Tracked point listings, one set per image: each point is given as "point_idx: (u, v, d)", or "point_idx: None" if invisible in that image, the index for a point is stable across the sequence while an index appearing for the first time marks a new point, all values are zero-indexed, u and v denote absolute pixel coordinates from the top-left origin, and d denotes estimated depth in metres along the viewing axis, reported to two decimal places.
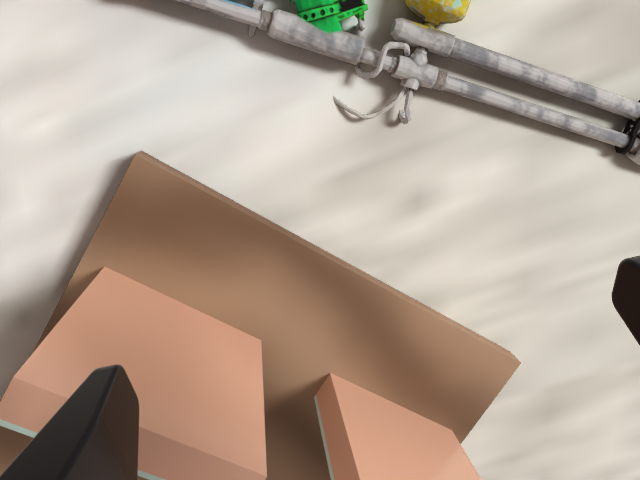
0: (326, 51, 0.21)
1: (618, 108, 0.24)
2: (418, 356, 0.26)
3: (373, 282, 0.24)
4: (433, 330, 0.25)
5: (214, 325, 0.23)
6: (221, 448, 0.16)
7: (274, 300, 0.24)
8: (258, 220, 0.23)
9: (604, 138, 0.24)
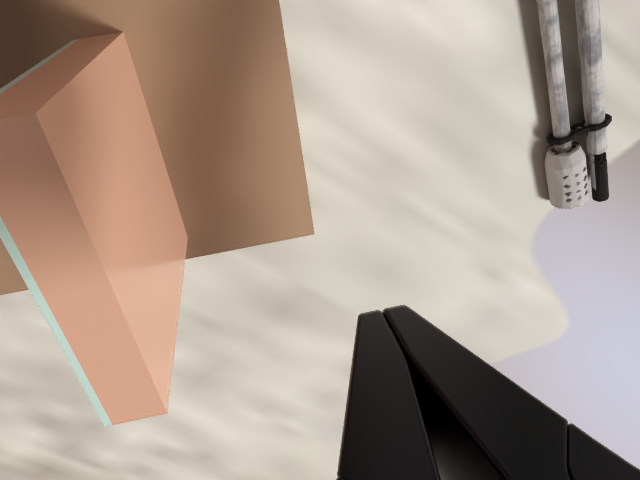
0: None
1: (592, 97, 0.21)
2: (235, 123, 0.18)
3: None
4: (277, 112, 0.18)
5: None
6: None
7: None
8: None
9: (557, 111, 0.21)
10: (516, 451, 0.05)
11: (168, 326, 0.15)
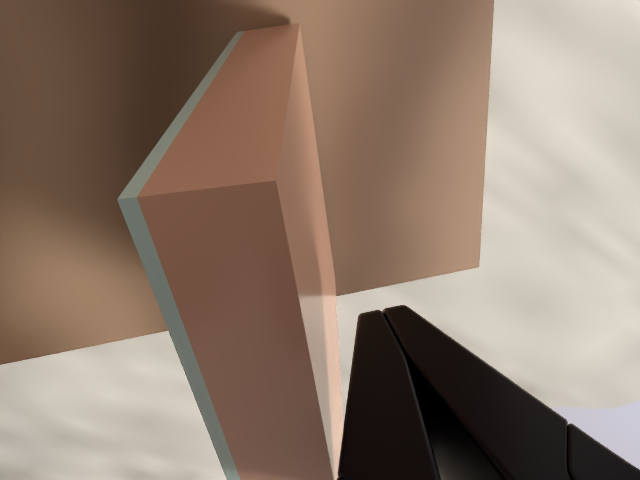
0: None
1: None
2: (413, 137, 0.15)
3: None
4: (465, 122, 0.15)
5: None
6: None
7: None
8: None
9: None
10: (516, 451, 0.05)
11: (341, 426, 0.11)
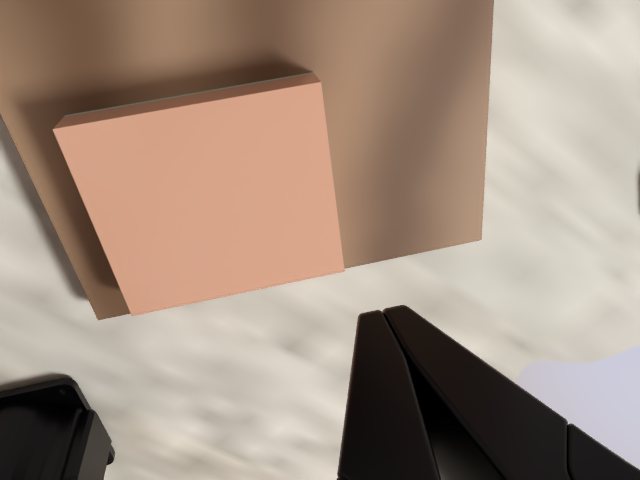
0: None
1: None
2: (434, 142, 0.21)
3: (490, 22, 0.19)
4: (471, 132, 0.21)
5: None
6: None
7: None
8: None
9: None
10: (516, 451, 0.05)
11: (190, 288, 0.20)
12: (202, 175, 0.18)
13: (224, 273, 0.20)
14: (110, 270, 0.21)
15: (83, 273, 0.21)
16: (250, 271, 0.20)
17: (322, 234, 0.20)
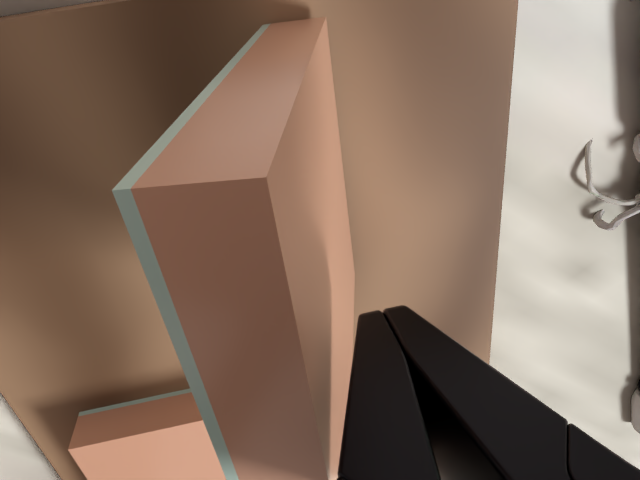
0: None
1: None
2: None
3: None
4: None
5: (347, 222, 0.15)
6: None
7: (414, 242, 0.17)
8: (505, 155, 0.16)
9: None
10: (516, 451, 0.05)
11: None
12: (210, 465, 0.19)
13: None
14: None
15: None
16: None
17: None
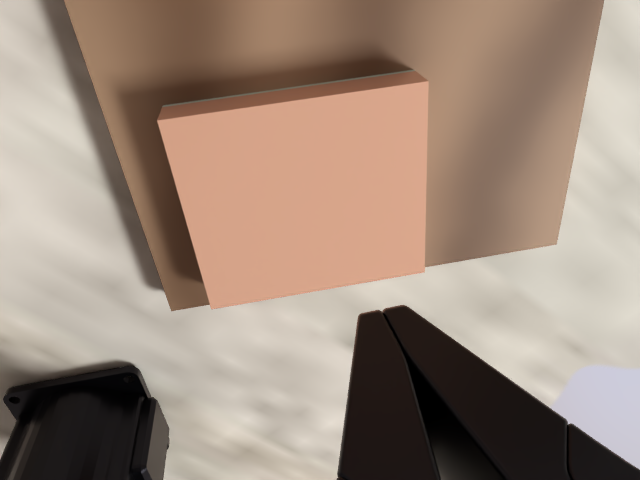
0: None
1: None
2: (524, 144, 0.20)
3: (596, 24, 0.18)
4: (562, 135, 0.20)
5: None
6: None
7: None
8: None
9: None
10: (516, 451, 0.05)
11: (271, 284, 0.20)
12: (298, 172, 0.18)
13: (307, 270, 0.20)
14: (189, 262, 0.21)
15: (162, 264, 0.21)
16: (332, 269, 0.20)
17: (408, 234, 0.20)
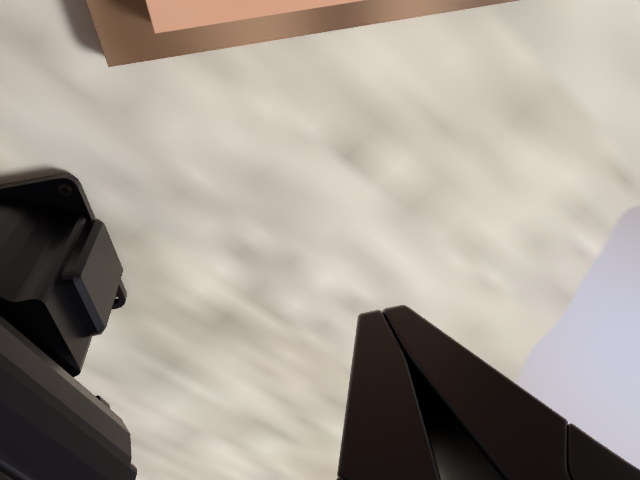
0: None
1: None
2: None
3: None
4: None
5: None
6: None
7: None
8: None
9: None
10: (516, 451, 0.05)
11: None
12: None
13: None
14: None
15: None
16: None
17: None
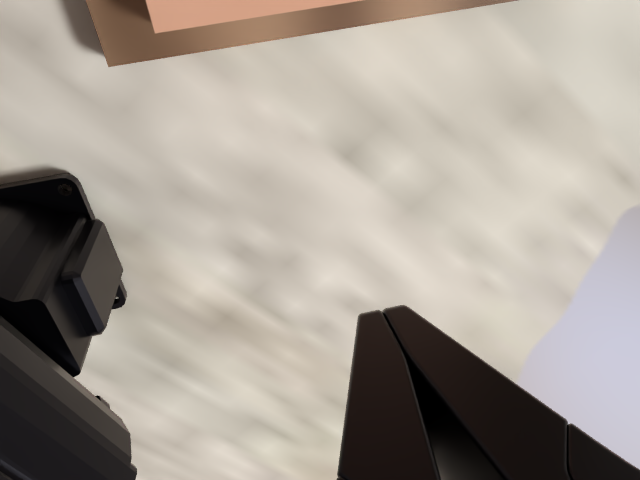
0: None
1: None
2: None
3: None
4: None
5: None
6: None
7: None
8: None
9: None
10: (516, 451, 0.05)
11: None
12: None
13: None
14: None
15: None
16: None
17: None
